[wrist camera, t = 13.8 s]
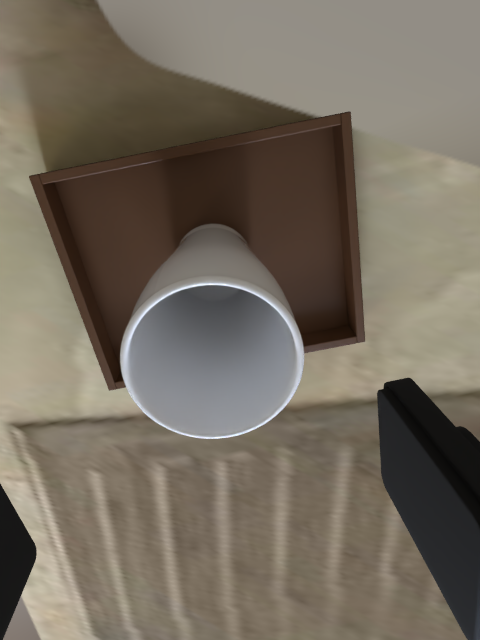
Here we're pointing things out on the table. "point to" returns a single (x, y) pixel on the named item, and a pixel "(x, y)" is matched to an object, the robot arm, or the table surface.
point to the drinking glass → (212, 339)
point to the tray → (214, 208)
